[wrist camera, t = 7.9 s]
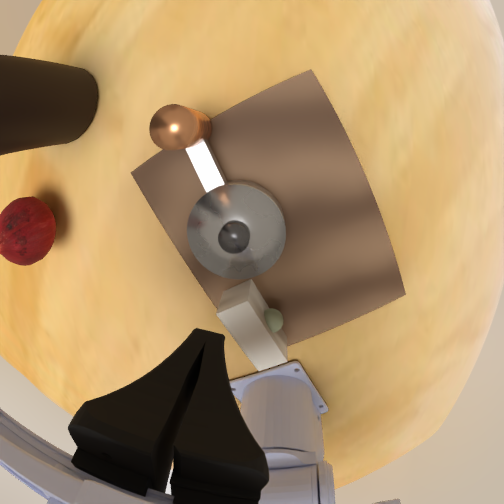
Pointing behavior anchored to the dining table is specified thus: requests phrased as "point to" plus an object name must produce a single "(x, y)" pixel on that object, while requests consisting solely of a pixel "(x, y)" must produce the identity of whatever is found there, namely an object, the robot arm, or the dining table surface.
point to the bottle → (43, 103)
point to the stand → (286, 219)
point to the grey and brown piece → (222, 203)
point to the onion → (26, 231)
